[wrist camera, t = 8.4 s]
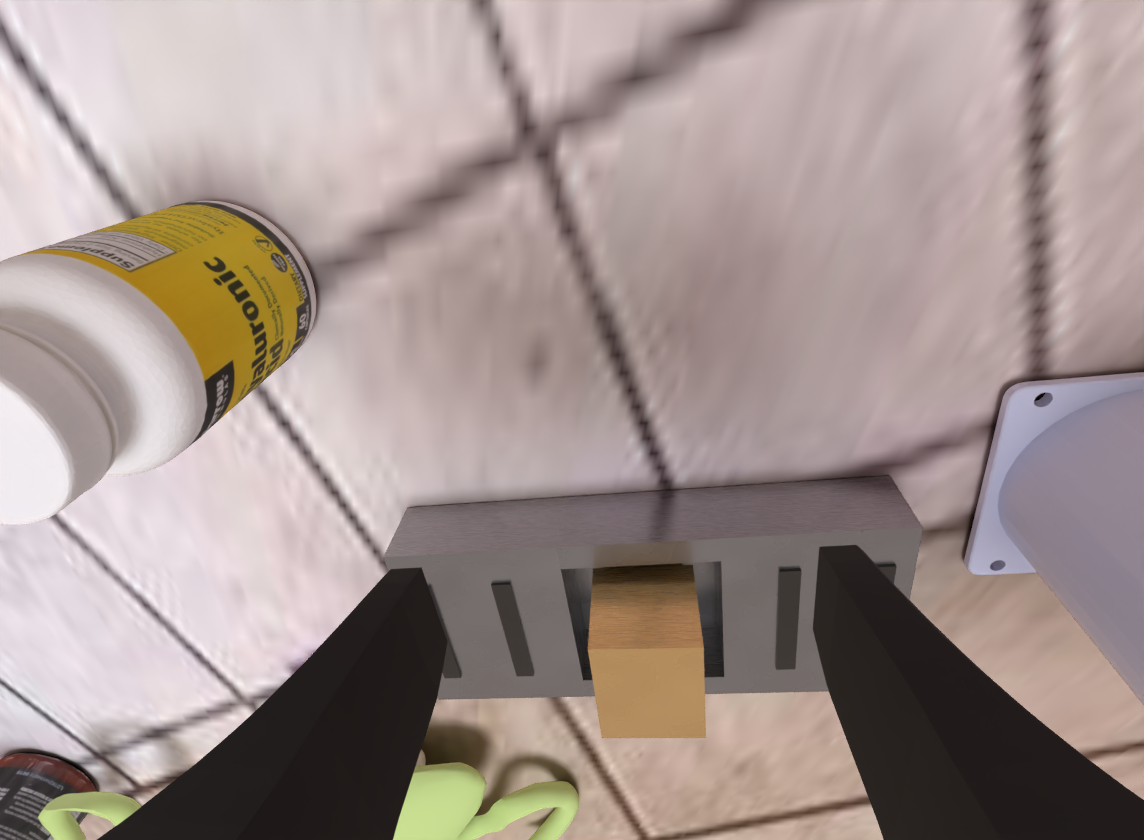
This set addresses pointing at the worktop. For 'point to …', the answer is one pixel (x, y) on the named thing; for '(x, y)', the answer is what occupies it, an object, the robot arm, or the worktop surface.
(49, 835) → the supplement bottle
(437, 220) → the worktop surface
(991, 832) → the robot arm
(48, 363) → the supplement bottle
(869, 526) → the grey slotted block
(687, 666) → the wooden stepped block
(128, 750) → the worktop surface
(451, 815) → the figurine
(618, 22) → the worktop surface
